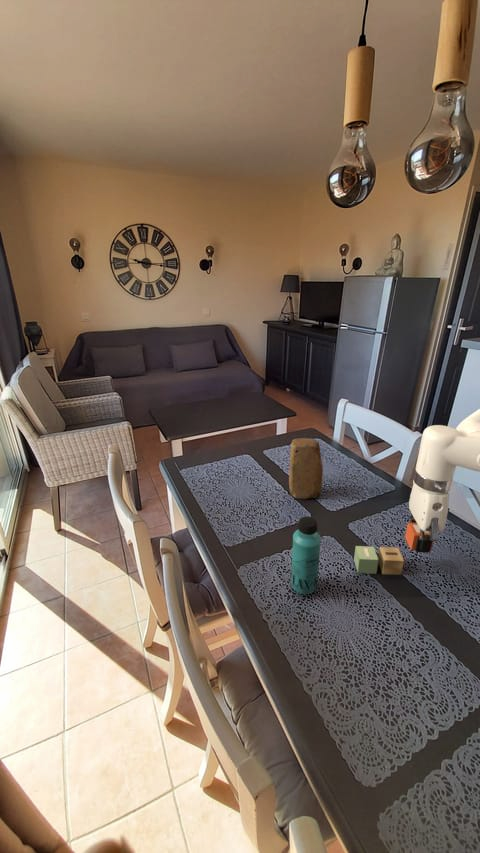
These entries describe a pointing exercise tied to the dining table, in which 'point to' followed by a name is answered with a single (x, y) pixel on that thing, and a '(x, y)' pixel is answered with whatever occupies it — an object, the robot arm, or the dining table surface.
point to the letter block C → (414, 535)
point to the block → (305, 469)
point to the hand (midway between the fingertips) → (418, 543)
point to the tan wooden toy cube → (390, 560)
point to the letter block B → (366, 559)
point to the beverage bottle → (305, 556)
